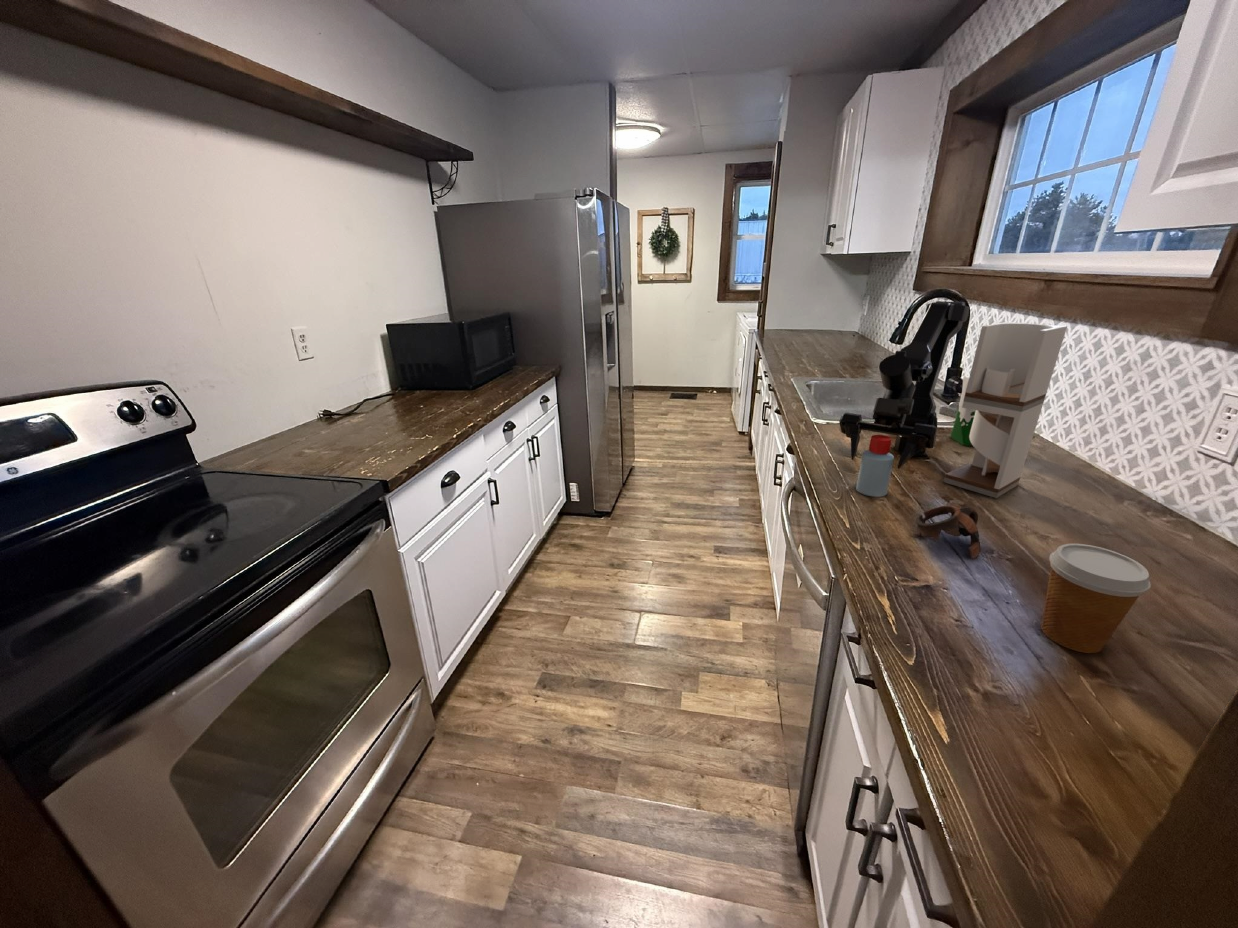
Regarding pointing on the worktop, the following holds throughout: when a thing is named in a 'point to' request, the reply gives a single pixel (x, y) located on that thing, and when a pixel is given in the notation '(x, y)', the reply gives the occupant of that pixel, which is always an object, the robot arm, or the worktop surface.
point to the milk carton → (963, 419)
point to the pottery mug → (951, 525)
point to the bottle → (874, 473)
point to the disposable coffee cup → (1090, 595)
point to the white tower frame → (1006, 402)
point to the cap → (880, 444)
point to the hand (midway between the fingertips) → (874, 463)
